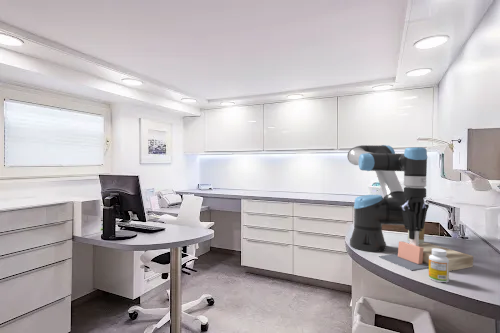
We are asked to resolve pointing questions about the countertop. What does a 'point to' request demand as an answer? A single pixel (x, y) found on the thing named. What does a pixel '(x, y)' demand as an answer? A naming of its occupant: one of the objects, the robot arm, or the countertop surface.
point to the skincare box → (421, 235)
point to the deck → (455, 257)
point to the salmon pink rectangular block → (410, 252)
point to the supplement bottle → (439, 265)
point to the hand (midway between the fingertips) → (413, 247)
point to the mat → (404, 262)
